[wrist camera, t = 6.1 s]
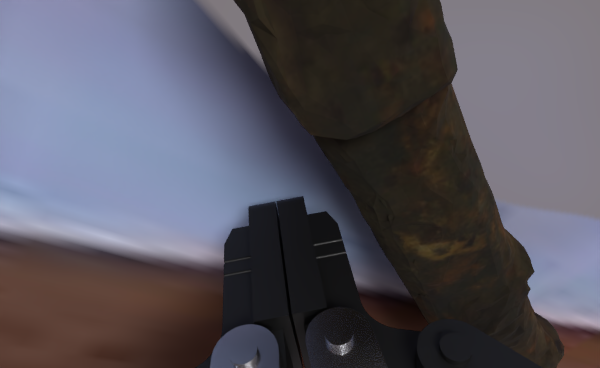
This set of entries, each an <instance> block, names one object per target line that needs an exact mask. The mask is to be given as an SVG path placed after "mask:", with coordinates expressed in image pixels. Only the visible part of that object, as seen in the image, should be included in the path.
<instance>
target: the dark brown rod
mask: <svg viewBox="0 0 600 368" xmlns="http://www.w3.org/2000/svg"><path fill="white" fill-rule="evenodd" d="M234 1H235V3H236V4H237V5H238V6H239V8H240V9H241V10H242V12H243V13H244V14H245V17H246V19H247V22H248V24H249V27H250V29H251V31H252V34H253V36H254V39H255V41H256V43H257V46H258V48H259V51H260V53H261V56H262V59H263V61H264V64H265V67H266V69H267V72H268V74H269V77H270V79H271V81H272V83H273V85H274V87H275V89H276V91H277V93H278V95H279V97H280V98H281V99H282V101H283V102H284V103H285V104H286V105H287V106H288V108H289V109H290V110H291V111H292V112H293V114H294V115H295V117H296V118H297V120H298V121H299V123H300V124H301V125H302V126H303V127H304V128H305V129H306V130H307V131H308V133H309V134H310V135H313V136H314V138H315V140H316V142H317V143H318V145H319V146H320V148H321V149H322V151H323V152H324V154H325V155H326V157H327V158H328V160H329V161H330V163H331V164H332V166H333V167H334V169H335V170H336V172H337V173H338V175H339V177H340V178H341V180H342V182H343V183H344V185H345V187H346V188H347V189H348V190H349V191H350V193H351V194H352V196H353V198H354V200H355V201H356V203H357V205H358V207H359V209H360V212H361V214H362V216H363V218H364V219H365V220H366V222H367V223H368V225H369V226H370V228H371V230H372V232H373V234H374V236H375V238H376V239H377V241H378V243H379V245H380V247H381V248H382V250H383V252H384V253H385V255H386V257H387V258H388V260H389V261H390V262H391V264H392V265H393V267H394V268H395V270H396V272H397V274H398V275H399V277H400V279H401V280H402V282H403V283H404V285H405V286H406V288H407V290H408V291H409V293H410V294H411V296H412V297H413V299H414V301H415V302H416V304H417V305H418V307H419V309H420V311H421V312H422V314H423V316H424V317H425V319H426V320H427V322H428V323H429V324H430V323H432V322H435V321H438V320H442V319H454V320H459V321H462V322H465V323H468V324H470V325H472V326H473V327H475V328H477V329H479V330H480V331H482V332H484V333H485V334H487V335H489V336H490V337H492V338H494V339H495V340H497V341H499V342H500V343H502V344H504V345H505V346H507V347H509V348H511V349H512V350H514V351H516V352H517V353H519V354H521V355H522V356H524V357H526V358H527V359H529V360H531V361H532V362H534V363H536V364H537V365H539V366H541V367H543V368H556V367H557V365H558V363H559V361H560V360H561V359H562V357H563V355H564V346H563V344H562V342H561V341H560V339H559V336H558V334H557V332H556V330H555V329H554V327H553V326H552V325H551V324H550V323H549V322H548V321H547V320H546V319H545V318H543V317H541V316H540V315H538V314H537V313H535V312H534V310H533V308H532V306H531V304H530V301H529V299H528V296H527V295H528V293H529V291H530V287H529V286H528V284H527V280H528V279H529V278H530V277H531V275H532V274H533V273H534V269H533V267H532V264H531V260H530V258H529V256H528V254H527V252H526V250H525V248H524V247H523V246H522V245H521V244H520V243H519V242H518V241H517V240H516V239H515V238H514V237H513V236H512V235H511V234H510V233H509V232H508V231H507V230H506V229H504V227H503V224H502V222H501V218H500V215H499V212H498V208H497V205H496V202H495V199H494V196H493V194H492V191H491V189H490V186H489V184H488V182H487V180H486V178H485V176H484V172H483V169H482V166H481V163H480V161H479V158H478V156H477V153H476V151H475V149H474V146H473V144H472V141H471V138H470V135H469V133H468V130H467V127H466V124H465V121H464V118H463V115H462V112H461V109H460V106H459V103H458V101H457V98H456V95H455V92H454V90H453V87H452V84H451V83H452V81H453V78H454V76H455V74H456V72H457V64H456V58H455V53H454V48H453V43H452V39H451V36H450V34H449V32H448V30H447V27H446V25H445V22H444V18H443V12H442V6H441V2H440V0H234Z"/></svg>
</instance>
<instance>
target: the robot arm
mask: <svg viewBox="0 0 600 368" xmlns="http://www.w3.org/2000/svg"><path fill="white" fill-rule="evenodd" d="M277 206H278V211H277ZM277 206H276V203H275V202H270V203H265V204H259V205H254V206H249V209H248V210H249V226H246V227H240V228H235V229H232V231H231V233H230V235H229V237H228V239H227V241H226V243H225V245H224V263H225V264H224V286H223V328H222V335H221V339H220V340H219V341H218V343H217V344H216V346H215V348H214V350H213V353H212V354H211V355H210V357H209V358H208V359H207V360H206V361H204V362H203V363H202V364H200V365H199V366H197V367H196V368H303V365H302V358H301V353H302V357H303V361H304V365H305V368H543V367H541V366H539V365H537V364H536V363H534V362H532V361H531V360H529V359H527V358H526V357H524V356H522V355H521V354H519V353H517V352H516V351H514V350H512V349H511V348H509V347H507V346H505V345H504V344H502V343H500V342H499V341H497V340H495V339H494V338H492V337H490V336H489V335H487V334H485V333H484V332H482V331H480V330H479V329H477V328H475V327H473V326H472V325H470V324H468V323H465V322H462V321H459V320H454V319H442V320H438V321H435V322H432V323H430V324H429V325H427V326H426V327H425V328H424V329H423V330H422V332H420V331H412V330H403V329H396V328H391V327H388V326H385V325H383V324H381V323H379V322H377V321H376V320H374V319H373V318H372V317H371V316H369V315H368V313H367V312H366V311H365V309H364V308H363V306H362V304H361V301H360V298H359V294H358V291H357V288H356V284H355V281H354V277H353V274H352V271H351V267H350V264H349V261H348V257H347V254H346V250H345V247H344V244H343V241H342V237H341V234H340V230H339V227H338V223H337V222H336V221H335V220H334V219H333V218H332V217H331V216H330V215H329V214H328V213H327V212H326V211H325V212H320V213H314V214H309V215H307V212H306V207H305V202H304V198H303V196H301V197H296V198H291V199H285V200H280V201H277ZM278 213H279V215H278ZM300 349H301V351H300Z"/></svg>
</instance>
